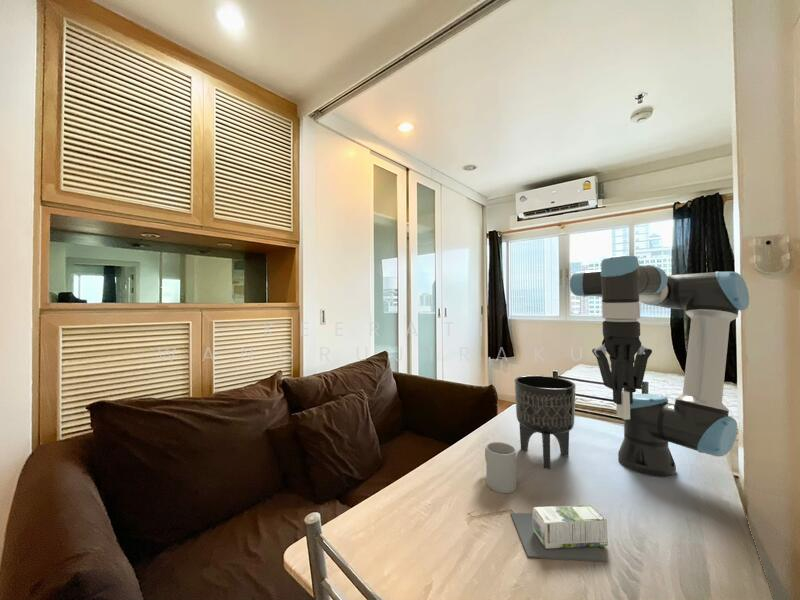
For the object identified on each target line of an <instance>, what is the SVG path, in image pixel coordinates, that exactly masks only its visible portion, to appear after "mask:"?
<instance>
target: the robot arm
mask: <svg viewBox="0 0 800 600" xmlns="http://www.w3.org/2000/svg"><path fill="white" fill-rule="evenodd" d="M600 265H601V266H600V269H594V270H581V271H577V272H574V273H573V274H572V275H571V276H570V279H569V288H570V292H571V293H572V294H573V295H574V296H577V297H597V298H599V297H600V298H601V311H602V316H601V317H602V318H603V319H604V320H603V321H602V323H601V324H602V335H603V336H602V337H603V340H602V342H601V345H599V347H597V348H595V347H594V348H593V349H592V350H591V352H592V353H593V354H594V355H593V356H595V358H596V361H597V364H598V368H599V371H600V375H601V379H602V383H603V385H604V387H606V388H608V389H611V390H612V401H613V403H614V404H616V417H619V418H620V419H622V420H623V435H624V436H623V439H622V442H621V445H620V447H619V449H618V453H617V455H618V457H617V459H618V461H619V463H620V464H621V465H623V466H624V467H626V468H627V469H629V470H632V471H634V472H637V473H640V474H642V475H643V474H644V475H647V476H650V477H657V478H669V477H670V478H671V477H673V476H675V475H676V474H677V468H676V463H675V459H674V457H673V455H672V453H671V450H670V448H669V443H671V444H675V445H678V446H681V447H684V448H687V449H691V450H693V451H696V452H698V453H699V454H700V453H701V454H706V455H711V456H713V457H724V456H725V455H727V454H728V453H729V452H730V451H731V450H732V448H733V447H734V445H735V442H736V439H737V435H738V422H737V420H736V419H735V418H734V417H732V416H730V415H729V412H730V409H728V407H727V406H726V405H725V404H724V403H723V396H724V384H725V375H726V374H725V373H726V364H727V354H728V347H729V346H728V344H729V334H730V324H731V322H732V321H734V320H735V319H737V318H738V317H739V312H741V311H746V310H747V309H748V308H749V305H750V295H749V290H748V287H747V286H748V285H747V284H746V281H745V279H744V277H743V276H742V275H741V274H740V273H738V272H735V271H718V270H717V271H714V272H713V271H712V272H700V273H699V272H698V273H686V274H685V273H684V274H682V273H681V274H671V275H667V273H666V272H665V271H664V270H663V269H662V268H661V267H658V266H654V265H652V264H647V265H640V264H639V259H638V256H636V255H633V254H631V255H630V254H629V255H628V254H627V255H617V256H616V255H615V256H609V257H605V258H603V259H602V260H601V264H600ZM640 303H642V304H644V305H648V306H655V307H660V308H665V309H674V310H685V315H687V317H689V318H690V328H689V333H688V343H687V352H686V360H685V361H686V362H685V369H684V379H683V380H684V381H683V387H682V394H681V395H679V396H678V397H676V398H675V400H674V404H673V403H670V402H669V399H668V397H667V396H664V395H662V394H661V395H660V394H654V393H636V392H637V389H639V390H640V389H642V387H643V381H644V378H645V374H646V370H647V364H648V360H649V358H650V356H651V355H652V353H653V350H652V349H651V348H647V347H645V346H643V345H642V341H641V340H640V336H641V322H640V321H638V320H639V319H640V318H641V308H640V305H641V304H640ZM607 354H608V355H609V360H608V357H607V356H606V355H607ZM609 361H610V364H609Z"/></svg>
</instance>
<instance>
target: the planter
mask: <svg viewBox="0 0 800 600" xmlns="http://www.w3.org/2000/svg"><path fill="white" fill-rule="evenodd" d="M576 387H577V386H576V384H575V383H574V382H573V381H571V380H568V379H565V378H561V377H556V376H555V377H554V376H549V375H548V376H547V375H523V376H518V377H516V378H515V379H514V394H515V411H516V412H515V414H516V420H517V422H518V423H519V437H520V440H519V442H520V450H522V451H524V452H526V451H527V450H528V449H529V443H530V440H531V439H530V438H532V435H534V434H536V433H538V434H541V439H542V440H541V441H542V461H543V462H542V465H543V469H548V470H551V435H553V436H554V437H555V439H556V440H557V441H558V442H557V443H558V445H559V450H560V455H562V456H563V457H569V454H570V453H569V450H570V431H571V430H573V429H574V425H575V414H576V412H575V410H576V408H575V407H576Z"/></svg>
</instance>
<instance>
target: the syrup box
mask: <svg viewBox="0 0 800 600" xmlns="http://www.w3.org/2000/svg"><path fill="white" fill-rule="evenodd" d="M532 514H533V530H534V532H535V534H536V535H537V537H538V538H539V539H540V541H541V542H542V544H543V545H544V547H545V548H572V547H595V546H597V547H608V545H609V540H608V524H607V522H608V521H607V519H606V518H605V517H604V516H603V515H602V514H601V513H599V511H598V510H596V509H595V508H594V507H593V506H592V505H591V504H586V505H585V504H584V505H583V504H582V505H559V506H557V505H556V506H555V505H553V506H536V507H535V506H534V507H533V509H532Z"/></svg>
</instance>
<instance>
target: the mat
mask: <svg viewBox="0 0 800 600" xmlns="http://www.w3.org/2000/svg"><path fill="white" fill-rule="evenodd" d="M510 516H511V519H512V521H513V524H514V526H515V528H516V531H517V534H518V536H519V539H520V541H521V543H522V546H523V548H524V550H525V553H526V556H527V558H529V559H531V558H532V559H548V560H549V559H551V560H566V561H567V560H570V561H583V562H584V561H586V562H587V561H588V562H604V563H605V562H607V558H606V557H605V556H604V554H603V553H602V552H601V550H600V549H599V546H595V547H572V548H545V547H544V545H543V544H542V542H541V541H540V539H539V538H538V537H537V535H536V534H535V532H534V530H533V513H525V512H524V513H523V512H510Z"/></svg>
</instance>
